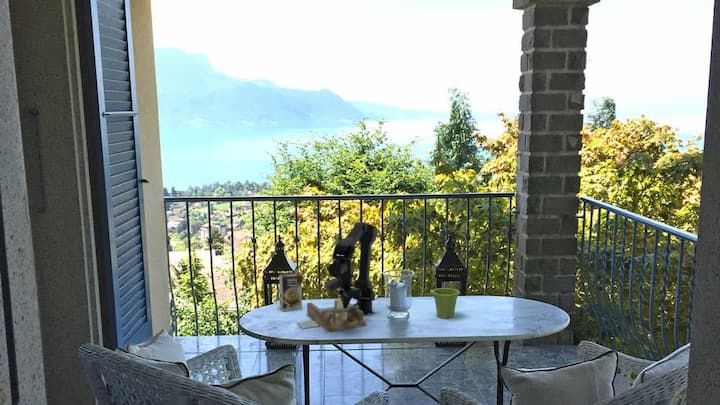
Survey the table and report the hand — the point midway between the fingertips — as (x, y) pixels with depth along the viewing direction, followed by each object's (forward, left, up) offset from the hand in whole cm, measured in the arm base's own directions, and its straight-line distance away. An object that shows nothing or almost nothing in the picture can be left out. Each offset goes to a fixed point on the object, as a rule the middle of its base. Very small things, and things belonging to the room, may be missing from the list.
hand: (345, 308), depth 245 cm
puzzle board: (0, -10, -8) cm, 13 cm away
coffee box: (+12, -34, -8) cm, 37 cm away
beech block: (0, -6, -8) cm, 10 cm away
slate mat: (+13, -9, -8) cm, 18 cm away
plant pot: (-46, +6, -8) cm, 47 cm away
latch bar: (0, -6, -3) cm, 7 cm away
